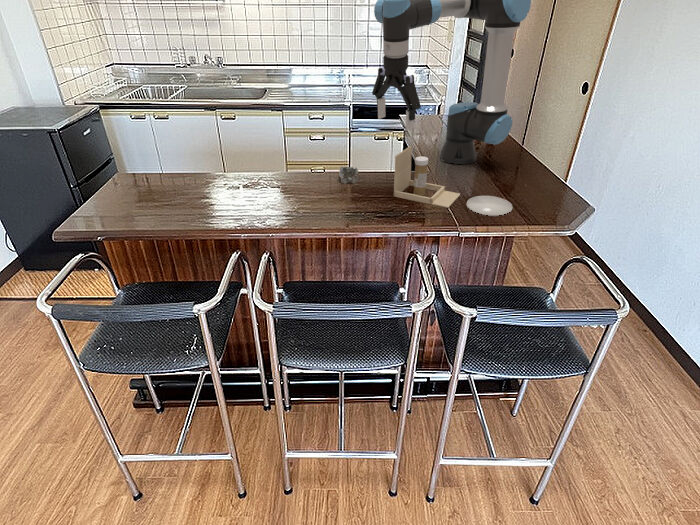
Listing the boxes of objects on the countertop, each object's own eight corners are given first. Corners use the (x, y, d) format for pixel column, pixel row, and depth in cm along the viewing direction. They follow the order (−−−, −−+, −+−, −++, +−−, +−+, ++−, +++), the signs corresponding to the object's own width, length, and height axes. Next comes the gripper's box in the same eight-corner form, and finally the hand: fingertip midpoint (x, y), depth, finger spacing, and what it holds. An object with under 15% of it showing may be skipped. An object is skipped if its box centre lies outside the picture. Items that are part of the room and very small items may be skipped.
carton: (460, 194, 158) (465, 154, 149) (448, 208, 149) (452, 165, 140) (408, 184, 167) (410, 145, 159) (393, 196, 158) (395, 155, 150)
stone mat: (487, 193, 158) (487, 192, 157) (521, 208, 147) (522, 206, 147) (457, 204, 151) (457, 202, 150) (491, 220, 140) (491, 218, 140)
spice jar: (412, 191, 161) (414, 156, 154) (424, 191, 161) (427, 155, 154) (413, 196, 157) (416, 160, 150) (426, 196, 157) (429, 160, 150)
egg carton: (358, 184, 169) (358, 174, 166) (338, 184, 169) (338, 174, 167) (358, 174, 178) (358, 164, 175) (340, 174, 178) (339, 164, 176)
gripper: (359, 49, 137) (362, 116, 151) (416, 66, 121) (413, 138, 135) (378, 44, 140) (379, 110, 154) (435, 59, 124) (430, 130, 138)
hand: (395, 123), depth 144 cm, fingers open, 13 cm apart
